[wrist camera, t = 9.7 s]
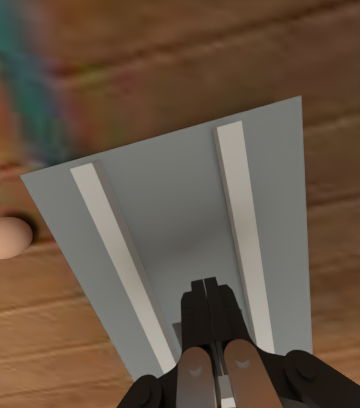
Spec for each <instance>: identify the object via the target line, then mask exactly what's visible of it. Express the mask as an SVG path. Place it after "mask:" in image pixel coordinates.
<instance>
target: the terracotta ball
mask: <svg viewBox="0 0 360 408" xmlns="http://www.w3.org/2000/svg"><path fill="white" fill-rule="evenodd" d="M32 236H33V234H32V230H31V228H30V226H29V225H28V224H27V223H26V222H24V221H23V220H21V219H18V218H14V217H1V218H0V259H7V258H11V257H14V256H17V255H19V254H20V253H22V252H23V251H25V250H26V249H27V248H28V246H29V245H30V243H31V241H32Z"/></svg>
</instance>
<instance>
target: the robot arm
mask: <svg viewBox="0 0 360 408" xmlns="http://www.w3.org/2000/svg"><path fill="white" fill-rule="evenodd" d="M204 284H205V287H204ZM205 289H206V291H205ZM191 290H192V291H189V292H184V293H183V296H182V298H181V333H182V353H181V356H180V359H179V361H178V363H177V364H176V365H175V367H174V368H173V369H171V370H170V371H169V372H167V373H165V374H164V375H162V376H160V377H159V378H156V377H155V376H154V375H151V374H146V375H143V376H141V377H140V378H138V379H137V380H136V381H135V382H134V383H133V385H132V386H131V388H130V389H129V390H128V392H127V393H126V395H125V396H124V398H123V399H122V400H121V402H120V403H119V405H118V406H117V408H222V401H221V390H220V384H219V379H218V376H223V375H222V370H221V365H222V369H223V373H224V375H228V377H229V381H230V385H231V390H232V394H233V398H234V402H235V406H236V408H360V386H359V385H358V384H356V383H355V382H353V381H352V380H350V379H349V378H347V377H346V376H344V375H343V374H341V373H340V372H338V371H337V370H335V369H334V368H332V367H330V366H329V365H327V364H326V363H324V362H323V361H321V360H320V359H318V358H317V357H315V356H314V355H312V354H310V353H309V352H306V351H303V350H291V351H289V352H288V353H287V354H286V355H285V356H283V355H277V354H272V353H268V352H266V351H264V350H262V349H260V348H259V347H258V346H257V345H255V343H254V342H253V341H252V339H251V337H250V335H249V333H248V330H247V327H246V324H245V322H244V319H243V316H242V314H241V311H240V308H239V306H238V303H237V301H236V297H235V295H234V292H233V290H232V289H231V288H230V287H229V286H228V285H227V284H224V285H219V286H218V283H217V280H216V277H215V276H214V277H209V278H204V282H203V279H200V280H195V281H191ZM206 294H207V295H206ZM217 348H218V349H217ZM218 352H219V354H218ZM219 357H220V359H219ZM220 361H221V364H220Z"/></svg>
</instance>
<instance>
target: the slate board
mask: <svg viewBox="0 0 360 408" xmlns="http://www.w3.org/2000/svg"><path fill="white" fill-rule="evenodd" d="M20 177H21V179H22V181H23V182H24V184H25V186H26V188H27V190H28V191H29V193H30V195H31V197H32V199H33V200H34V202H35V204H36V206H37V208H38V209H39V211H40V213H41V215H42V217H43V218H44V220H45V222H46V224H47V226H48V227H49V229H50V231H51V233H52V235H53V236H54V238H55V240H56V242H57V244H58V245H59V247H60V249H61V251H62V253H63V254H64V256H65V258H66V260H67V262H68V263H69V265H70V267H71V269H72V271H73V272H74V274H75V276H76V278H77V280H78V281H79V283H80V285H81V287H82V289H83V290H84V292H85V294H86V296H87V298H88V299H89V301H90V303H91V305H92V307H93V308H94V310H95V312H96V314H97V316H98V317H99V319H100V321H101V323H102V325H103V326H104V328H105V330H106V332H107V334H108V335H109V337H110V339H111V341H112V343H113V344H114V346H115V348H116V350H117V352H118V353H119V355H120V357H121V359H122V361H123V362H124V364H125V366H126V368H127V370H128V371H129V373H130V375H131V377H132V379H133V380H134V382H135V381H136V380H137V379H138V378H140V377H141V376H143V375H146V374H151V375H154V376H155V377H156V378H159V377H160V376H162V375H164V374H165V373H167V372H169V371H170V370H171V369H173V368H174V367H175V365H176V364H177V363H178V361H179V359H180V356H181V353H182V333H181V298H182V296H183V293H184V292H189V291H192V290H191V281H195V280H200V279H203V282H204V278H209V277H214V276H215V277H216V280H217V283H218V286H219V285H224V284H227V285H228V286H229V287H230V288H231V289H232V290H233V292H234V295H235V297H236V301H237V303H238V306H239V308H240V311H241V314H242V316H243V319H244V322H245V324H246V327H247V330H248V333H249V335H250V337H251V339H252V341H253V342H254V343H255V345H257V346H258V347H259V348H260V349H262V350H264V351H266V352H268V353H272V354H277V355H283V356H285V355H286V354H287V353H288V352H289V351H291V350H303V351H306V352H309V353H310V354H312V331H311V308H310V285H309V262H308V238H307V215H306V192H305V169H304V146H303V123H302V100H301V96H297V97H294V98H290V99H287V100H283V101H280V102H276V103H273V104H269V105H266V106H262V107H259V108H255V109H252V110H248V111H245V112H241V113H238V114H234V115H231V116H227V117H223V118H220V119H216V120H213V121H209V122H206V123H202V124H199V125H195V126H192V127H188V128H185V129H181V130H178V131H174V132H171V133H167V134H164V135H160V136H157V137H153V138H150V139H146V140H143V141H139V142H136V143H132V144H129V145H125V146H122V147H118V148H115V149H111V150H108V151H104V152H101V153H97V154H94V155H90V156H87V157H83V158H80V159H76V160H73V161H69V162H66V163H62V164H59V165H55V166H52V167H48V168H45V169H41V170H38V171H34V172H31V173H27V174H24V175H20ZM204 287H205V284H204ZM205 291H206V289H205ZM206 295H207V294H206ZM217 349H218V348H217ZM218 354H219V352H218ZM312 355H313V354H312ZM219 359H220V357H219ZM220 364H221V361H220ZM221 370H222V375H223V376H218V379H219V384H220V390H221V401H222V408H229V407H235V402H234V398H233V394H232V390H231V385H230V381H229V377H228V375H224V373H223V369H222V365H221Z"/></svg>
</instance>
